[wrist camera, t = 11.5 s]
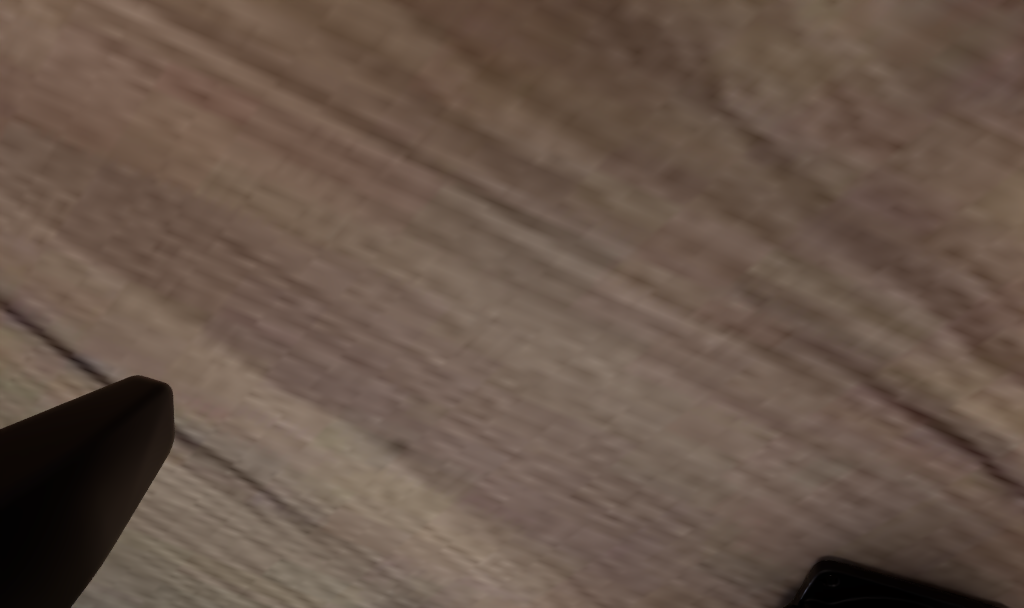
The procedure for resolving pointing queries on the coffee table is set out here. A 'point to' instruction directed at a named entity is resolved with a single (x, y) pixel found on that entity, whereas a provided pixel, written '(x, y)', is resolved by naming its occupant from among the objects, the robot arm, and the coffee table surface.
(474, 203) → the coffee table surface
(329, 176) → the coffee table surface
